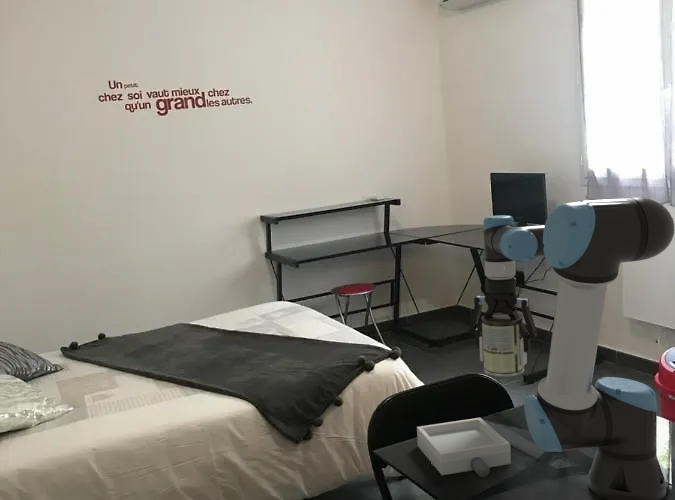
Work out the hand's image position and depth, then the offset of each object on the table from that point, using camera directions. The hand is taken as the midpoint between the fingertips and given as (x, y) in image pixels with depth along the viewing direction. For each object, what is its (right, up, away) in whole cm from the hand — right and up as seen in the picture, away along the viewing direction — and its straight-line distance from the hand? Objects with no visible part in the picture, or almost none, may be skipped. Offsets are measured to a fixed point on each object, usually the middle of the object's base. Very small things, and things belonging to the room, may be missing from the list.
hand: (503, 361), depth 179 cm
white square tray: (-12, -21, -12) cm, 27 cm away
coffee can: (0, -2, 0) cm, 3 cm away
